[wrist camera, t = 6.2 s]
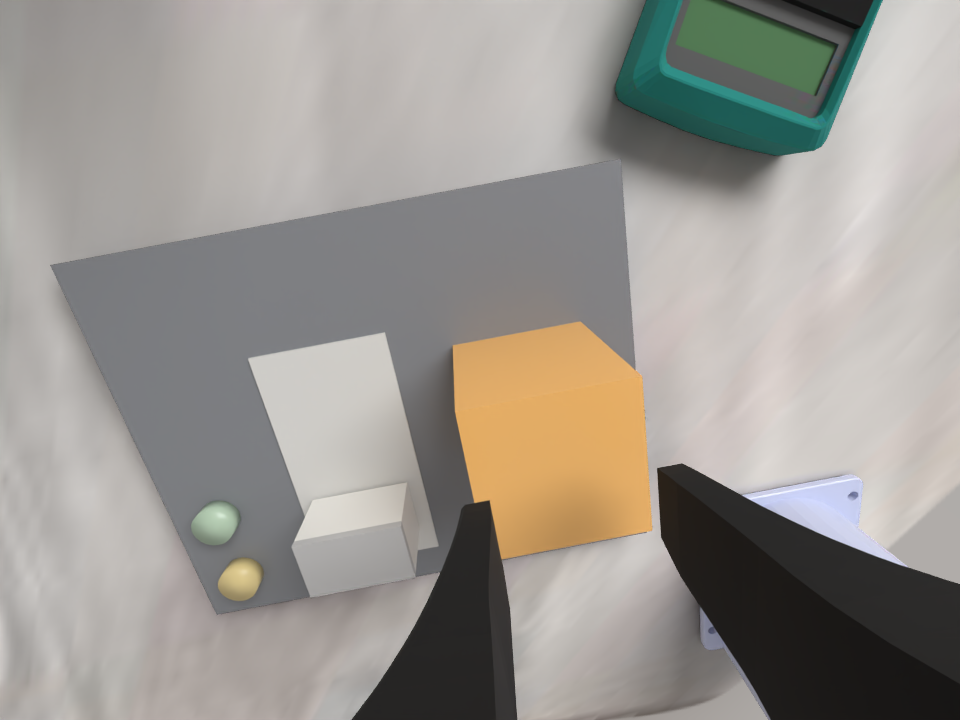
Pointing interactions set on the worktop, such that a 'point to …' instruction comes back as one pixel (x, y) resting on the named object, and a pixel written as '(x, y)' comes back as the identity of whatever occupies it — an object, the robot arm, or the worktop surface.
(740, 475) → the worktop surface
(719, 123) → the digital multimeter
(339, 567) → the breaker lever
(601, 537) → the block
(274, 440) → the grey flat plate
